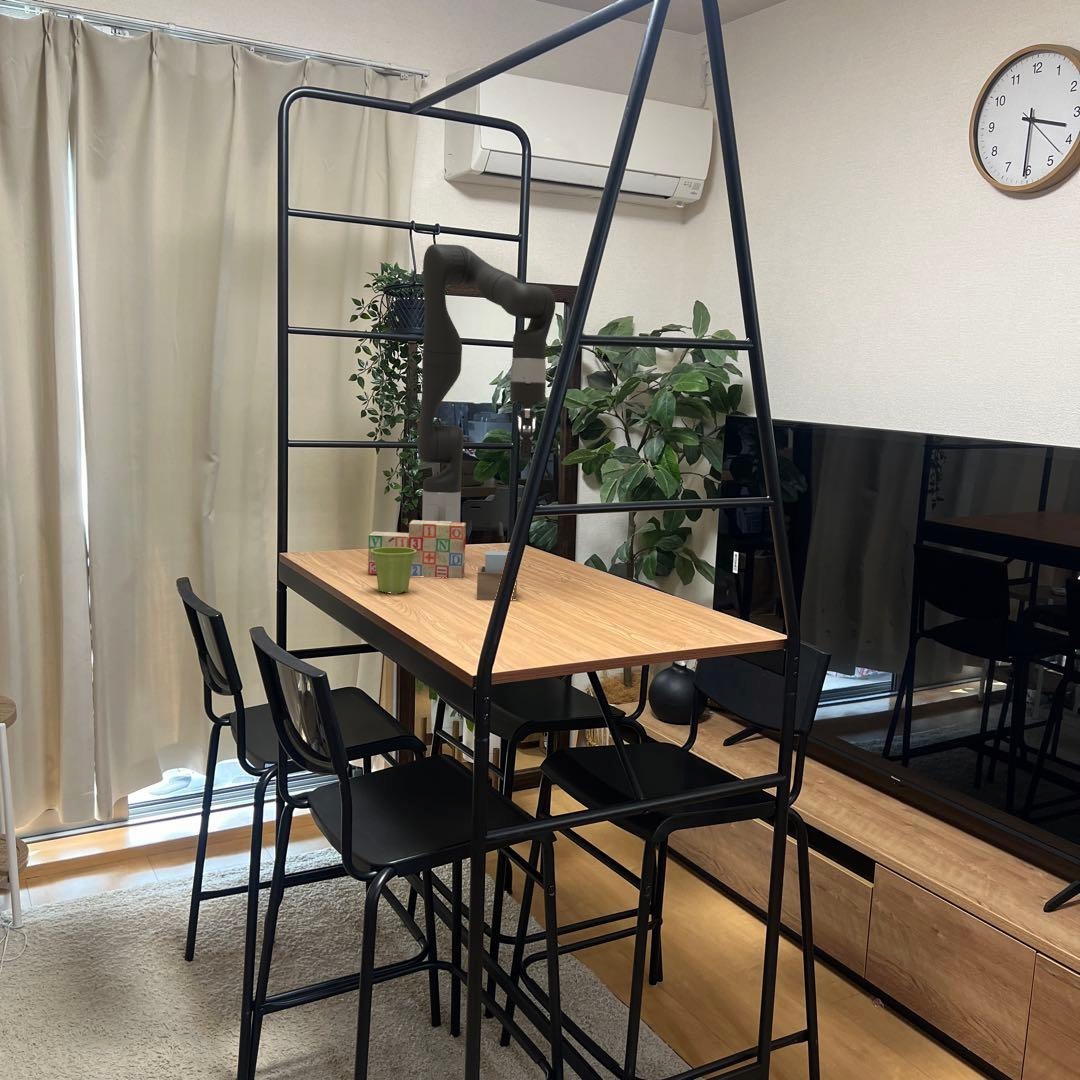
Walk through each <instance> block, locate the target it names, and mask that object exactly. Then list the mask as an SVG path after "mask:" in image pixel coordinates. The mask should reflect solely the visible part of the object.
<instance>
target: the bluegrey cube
mask: <svg viewBox="0 0 1080 1080" xmlns="http://www.w3.org/2000/svg"><path fill="white" fill-rule="evenodd" d="M508 552H509V551H503V550H502V551H501V550H500V551H499V550H486V551H485V556H484V557H485V559H484V562H485V563H484V566H485V572H492V573H502V572H503V568H504V565H505V561H506V557H507V553H508Z"/></svg>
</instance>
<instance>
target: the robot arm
mask: <svg viewBox="0 0 1080 1080" xmlns="http://www.w3.org/2000/svg"><path fill="white" fill-rule="evenodd" d="M423 256H424V257H423V263H422V281H423V301H424V317H423V318H424V321H423V323H424V324H423V325H424V326H423V328H424V329H423V341H422V342H423V344H422V358H421V359H422V361H421V362H422V363H421V372H422V373H421V376H422V377H421V401H420V403H421V404H420V411H419V412H420V414H419V422H418V423H419V424H418V431H417V432H418V433H417V434H418V435H417V456H418V459H419V461H420V462H422V463H425V464H426V463H427V464H428V463H429V464H447V466H446V468H445V469H444V470H442V471H441V472H439V473H437V474H435V475H432V476H429V477H426V478H425V479H424V480H423V483H422V515H421V517H422V520H421V521H452V522H458V523H461V497H462V496H461V493H462V489H461V488H462V468H463V467H462V465H463V455H464V432H463V429H462V428H461V427H460V426H458V425H451V424H434V421H435V417H436V415H437V411H438V410H439V407H440V405H441V404H442V401H443V400H444V398H445V397H446V396H447V394H448V393H449V391H450V390H451V389H452V387H454V385H455V383H456V381H457V380H458V378H459V376H460V375H461V373H462V372H461V371H462V359H463V358H462V357H463V356H462V355H463V354H462V353H463V343H462V340H461V337H460V334H459V332H458V330H457V328H456V325H455V324H454V323H453V321H452V319H451V316H450V314H449V311H448V308H447V307H448V306H447V301H446V287H458V286H459V287H461V286H467V287H468V286H469V287H475V288H477V291H478V292H479V294H480V295H481V296H482V297H483V298H485V299H486V300H487V301H489V302H491V303H493V304H495V305H497V306H499V307H500V308H502V309H503V310H504V311H505V312H506V313H507V314H509V315H510V316H513V317H516V318H519V319H530V320H529V323H528V324H527V328H525V329H520V330H517V331H516V332H515V333H514V334H513V337H512V357H511V358H512V361H511V366H510V389H509V400H510V401H509V402H511V403H514V404H515V403H516V404H517V403H518V404H521V406H522V407H521V409H520V411H517V421H518V431H519V439H520V458H521V459H530V458H532V440H533V439H534V432H535V431H536V421H537V412H535V410H534V407H533V406H534V405H535V404H544V403H545V402H546V387H547V386H546V385H547V384H546V383H547V366H546V354H547V351H546V350H547V338H548V336H549V331H550V328H551V325H552V322H553V318H554V314H555V311H556V298H555V294H554V292H553V290H551V288H550V287H548V286H545V285H540V284H539V285H538V284H537V285H536V284H529V283H523V282H522V280H521V279H520V278H519V277H517V276H515V275H513V274H510V273H508V272H506V271H503V270H501V269H499V268H497V267H495V266H492V264H489V263H488V262H486V261H485V260H483V259H482V258H481V257H480V256H478V255H477V254H476V253H475V252H473V251H472V250H471V249H469V248H468V247H466V246H463V245H459V244H445V243H443V244H440V243H436V244H435V243H434V244H431V245H429V246H428V247H427V248H426V250H425V253H424V255H423Z"/></svg>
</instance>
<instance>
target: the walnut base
mask: <svg viewBox="0 0 1080 1080" xmlns="http://www.w3.org/2000/svg"><path fill="white" fill-rule="evenodd" d="M476 576H477V580H476V600H480V601H481V600H483V601H496V600H495V597H496V594H497V590H498V587H499V583H500V580H501V576H502V573H492V572H485V565H478V570H477V575H476ZM517 587H518V579H517V580H516V585H515V588H514V592H513V596H512V600H513V599H516V600H517V591H518V588H517Z"/></svg>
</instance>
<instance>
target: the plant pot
mask: <svg viewBox="0 0 1080 1080" xmlns="http://www.w3.org/2000/svg"><path fill="white" fill-rule="evenodd" d="M371 553H372V554H373V559H374V560H375V567H376V574H377V575H376V581H377V588H378V589H377V590H378V592H379V591H384V593H386V592H391V593H392V594H396V593H398V594H402V593H403V591H404V593H407V592H409V587H410V581H411V577H410V574H411V567H412V561H413V559H414V555H415V553H416V550H415V549H412V548H404V547H381V548H375V549H372V550H371Z"/></svg>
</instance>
